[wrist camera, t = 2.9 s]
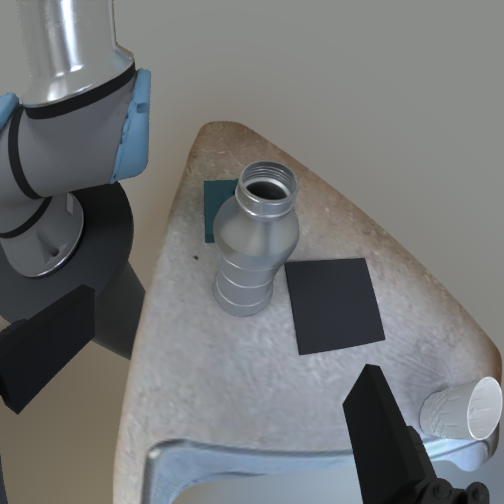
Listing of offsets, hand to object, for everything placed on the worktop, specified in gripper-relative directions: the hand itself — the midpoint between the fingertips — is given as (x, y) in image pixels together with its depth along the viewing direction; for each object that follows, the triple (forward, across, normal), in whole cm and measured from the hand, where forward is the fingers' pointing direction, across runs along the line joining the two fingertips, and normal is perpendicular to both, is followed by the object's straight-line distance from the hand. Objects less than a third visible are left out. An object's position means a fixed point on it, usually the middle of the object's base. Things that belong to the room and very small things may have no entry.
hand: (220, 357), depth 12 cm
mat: (+23, +12, -5) cm, 26 cm away
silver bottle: (+22, 0, -7) cm, 22 cm away
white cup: (+14, +31, -15) cm, 37 cm away
